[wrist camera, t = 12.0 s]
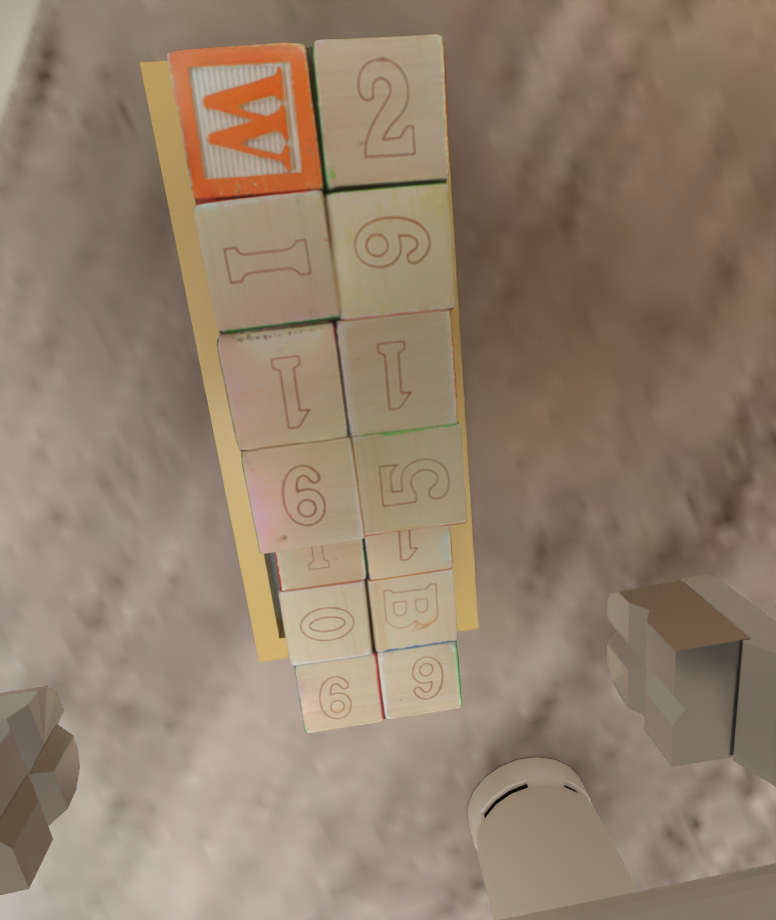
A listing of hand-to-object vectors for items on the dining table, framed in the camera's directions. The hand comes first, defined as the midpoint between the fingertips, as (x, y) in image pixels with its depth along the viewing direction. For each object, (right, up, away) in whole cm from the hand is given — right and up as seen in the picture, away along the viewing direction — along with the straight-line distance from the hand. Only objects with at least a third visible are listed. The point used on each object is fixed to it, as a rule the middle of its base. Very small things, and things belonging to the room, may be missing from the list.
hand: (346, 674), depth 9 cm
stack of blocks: (-2, +6, +19) cm, 20 cm away
